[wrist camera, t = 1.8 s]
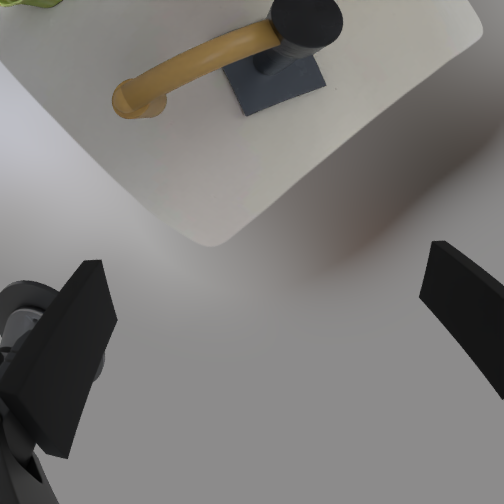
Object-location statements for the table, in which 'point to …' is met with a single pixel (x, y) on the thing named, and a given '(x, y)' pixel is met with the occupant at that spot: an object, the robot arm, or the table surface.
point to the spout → (233, 52)
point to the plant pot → (30, 3)
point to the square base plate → (271, 79)
